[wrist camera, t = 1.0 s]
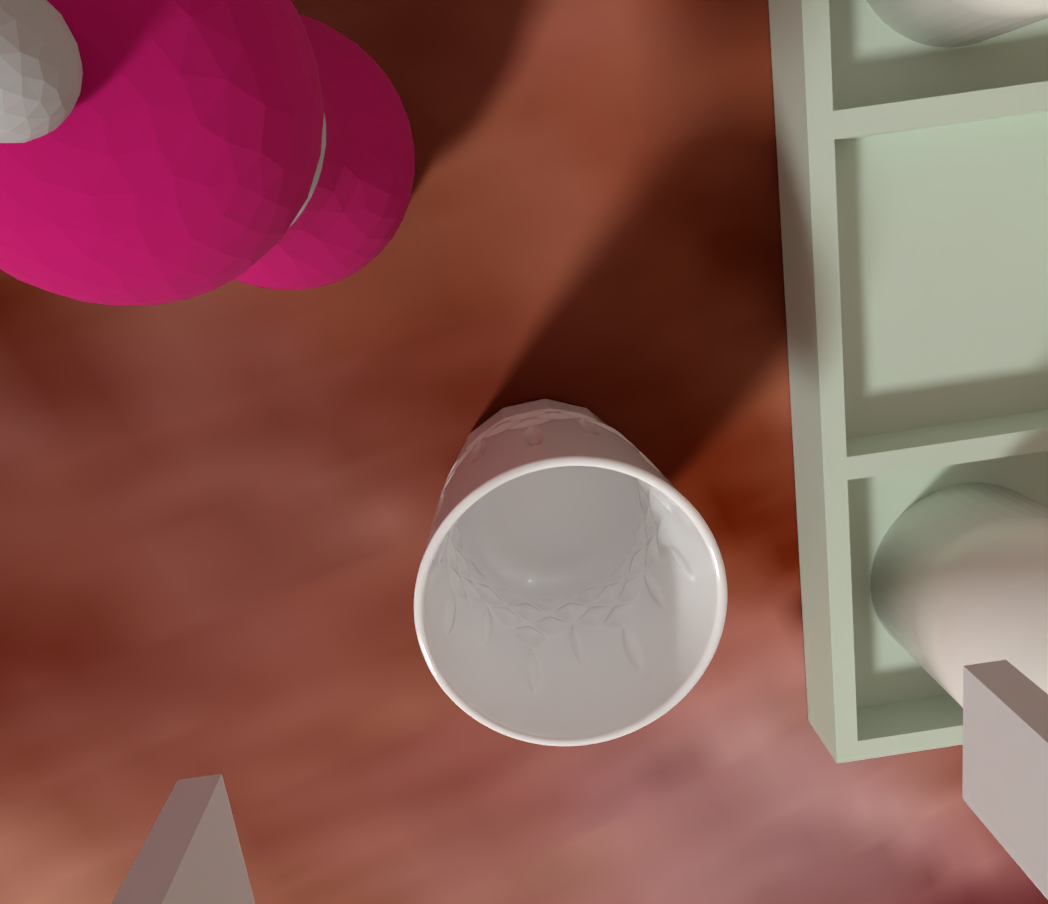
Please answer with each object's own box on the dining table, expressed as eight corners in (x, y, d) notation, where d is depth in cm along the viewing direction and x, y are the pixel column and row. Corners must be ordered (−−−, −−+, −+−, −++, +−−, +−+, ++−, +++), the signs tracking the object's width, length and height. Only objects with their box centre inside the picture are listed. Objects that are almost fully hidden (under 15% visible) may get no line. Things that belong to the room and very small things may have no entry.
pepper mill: (468, 149, 28) (451, -12, 9) (337, 324, 29) (69, 520, 10) (283, -7, 27) (-226, -612, 7) (153, 184, 28) (-577, 97, 9)
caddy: (753, -261, 26) (786, -317, 23) (1137, -311, 26) (1215, -374, 23) (808, 720, 34) (836, 763, 32) (1094, 677, 34) (1147, 716, 32)
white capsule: (866, 497, 31) (1018, 604, 22) (1057, 469, 31) (1281, 565, 22) (872, 670, 33) (1014, 831, 24) (1052, 643, 33) (1258, 794, 24)
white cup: (629, 360, 30) (701, 424, 21) (667, 565, 32) (749, 711, 23) (409, 409, 30) (378, 496, 21) (461, 610, 32) (454, 775, 23)
